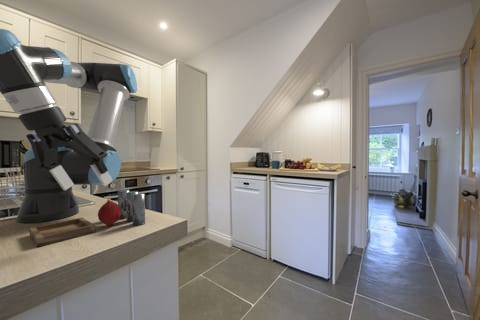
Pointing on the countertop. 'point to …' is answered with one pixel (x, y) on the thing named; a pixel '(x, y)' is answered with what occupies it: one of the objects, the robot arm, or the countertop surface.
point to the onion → (109, 213)
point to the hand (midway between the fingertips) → (88, 185)
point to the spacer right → (138, 209)
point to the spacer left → (123, 203)
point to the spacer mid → (130, 205)
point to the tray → (61, 231)
